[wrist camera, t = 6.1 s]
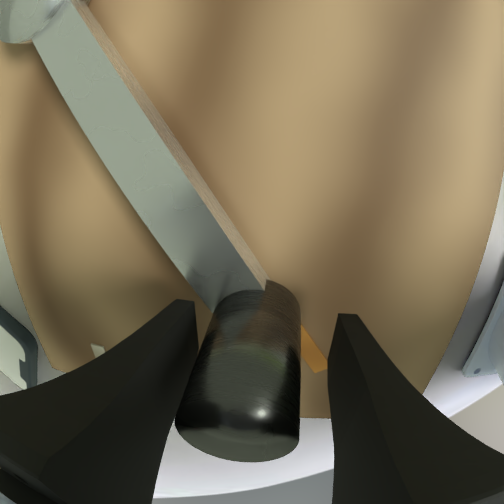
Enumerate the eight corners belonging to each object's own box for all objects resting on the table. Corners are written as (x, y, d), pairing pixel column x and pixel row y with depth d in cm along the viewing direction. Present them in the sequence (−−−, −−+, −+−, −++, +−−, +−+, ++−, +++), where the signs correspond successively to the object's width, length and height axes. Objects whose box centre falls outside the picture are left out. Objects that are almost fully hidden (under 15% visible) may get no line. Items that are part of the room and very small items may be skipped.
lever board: (482, -20, 6) (500, -30, 4) (404, 396, 16) (409, 417, 14) (13, 3, 8) (-7, 0, 7) (63, 353, 18) (51, 368, 16)
